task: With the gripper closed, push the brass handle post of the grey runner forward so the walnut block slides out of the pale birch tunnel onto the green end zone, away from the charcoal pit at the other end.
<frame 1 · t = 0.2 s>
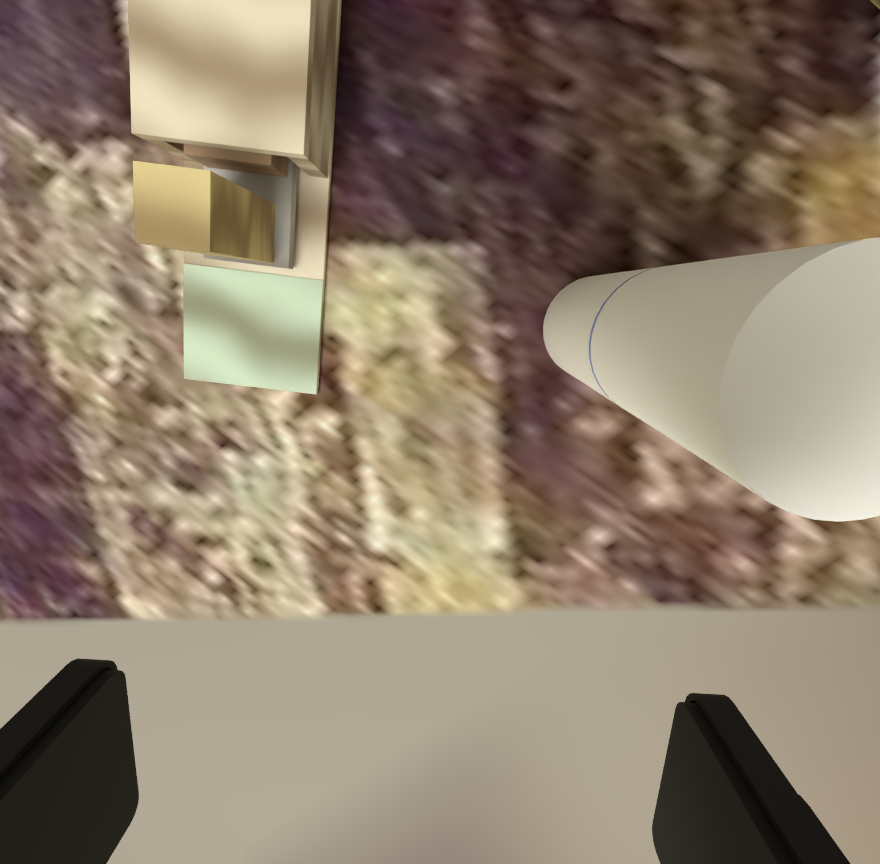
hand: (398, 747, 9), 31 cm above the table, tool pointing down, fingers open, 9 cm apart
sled: (220, 99, 28), point 6 cm above the table, slide at 0.0 cm
tunnel: (259, 146, 35), on the table
cylindrical container: (592, 328, 37), on the table
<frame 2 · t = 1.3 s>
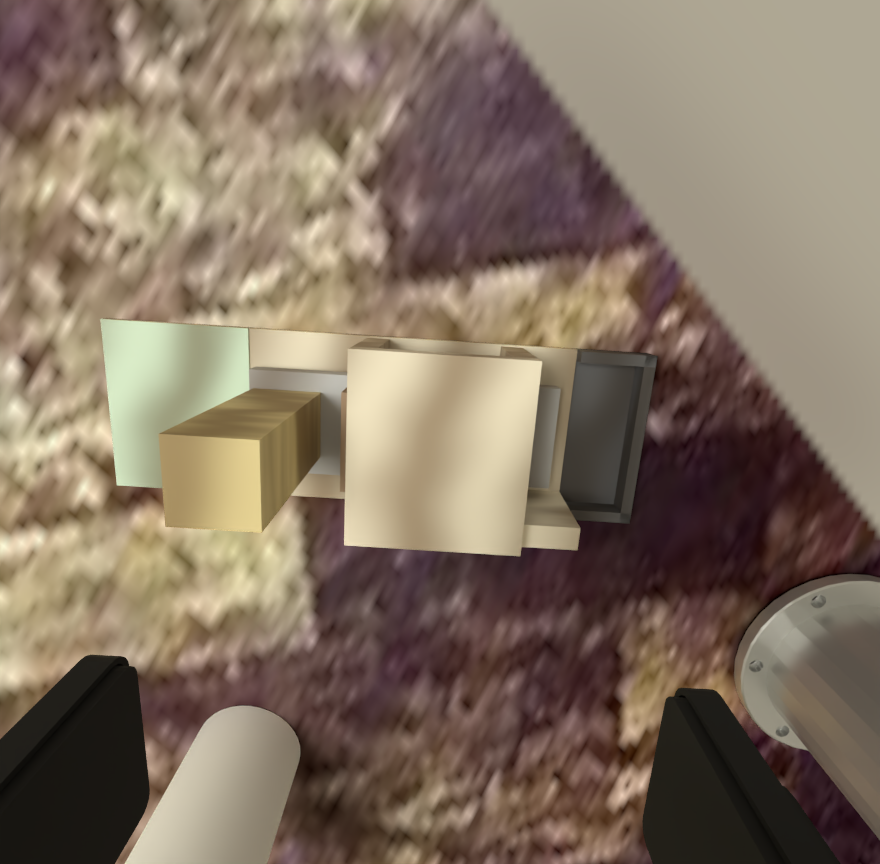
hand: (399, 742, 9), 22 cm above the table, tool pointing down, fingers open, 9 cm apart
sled: (395, 453, 24), point 6 cm above the table, slide at 0.0 cm
tunnel: (392, 420, 30), on the table
cylindrical container: (250, 746, 37), on the table
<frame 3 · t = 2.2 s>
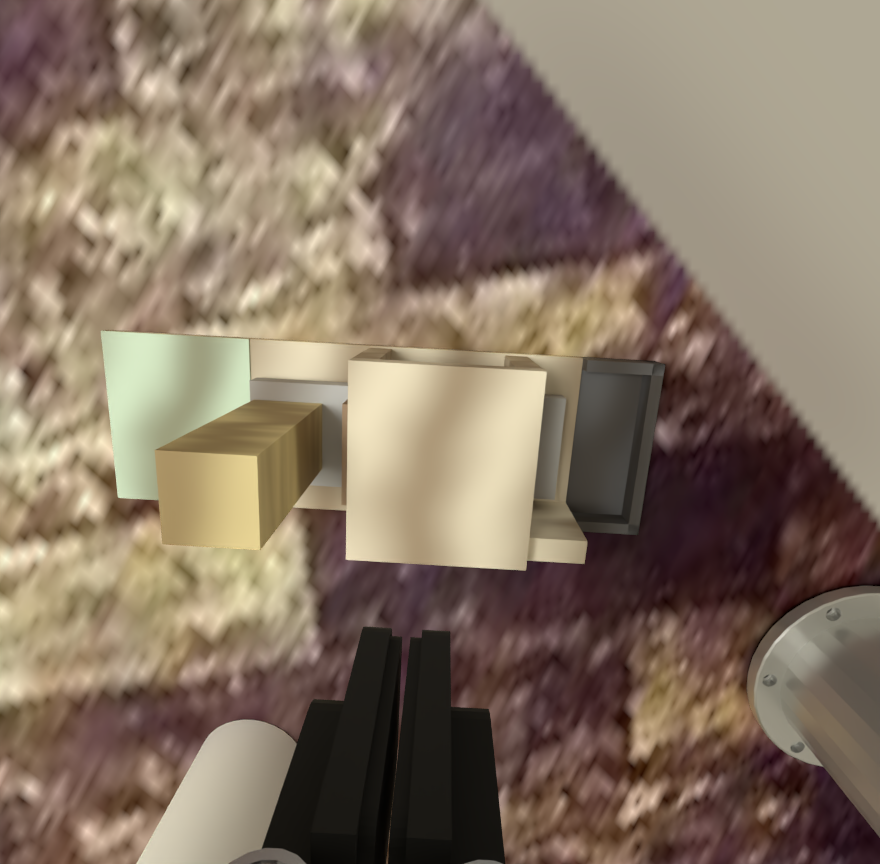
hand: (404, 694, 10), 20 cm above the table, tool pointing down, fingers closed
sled: (397, 465, 24), point 6 cm above the table, slide at 0.0 cm
tunnel: (395, 431, 30), on the table
cylindrical container: (253, 760, 36), on the table
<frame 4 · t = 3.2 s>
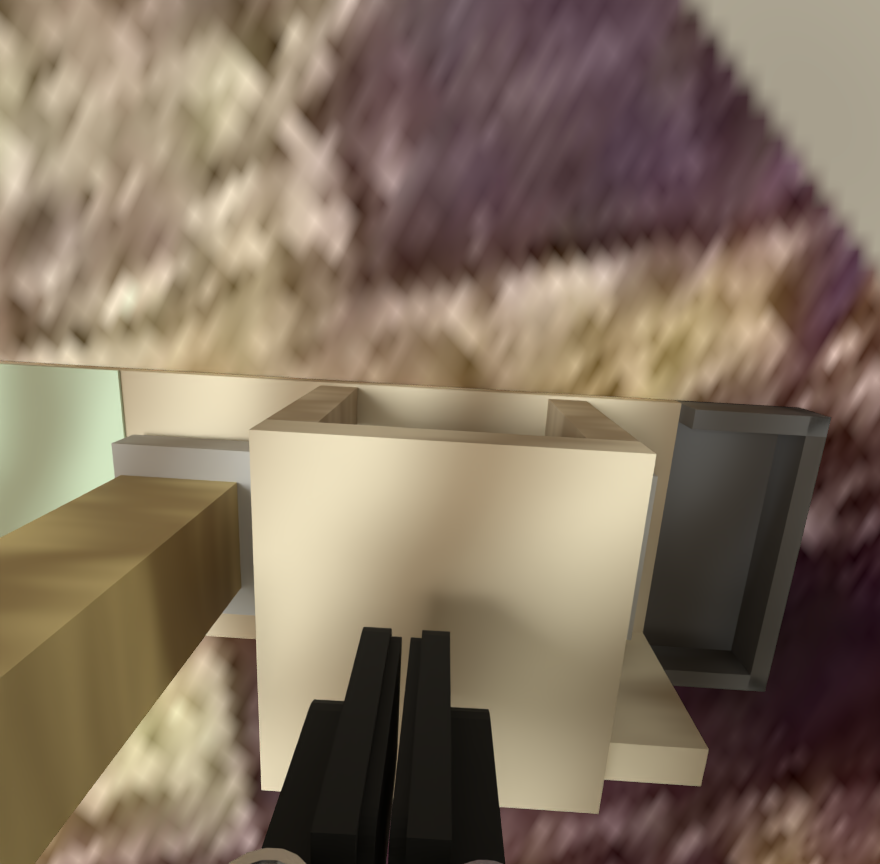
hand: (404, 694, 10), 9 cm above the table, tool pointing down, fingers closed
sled: (355, 625, 12), point 6 cm above the table, slide at 0.0 cm
tunnel: (366, 518, 18), on the table
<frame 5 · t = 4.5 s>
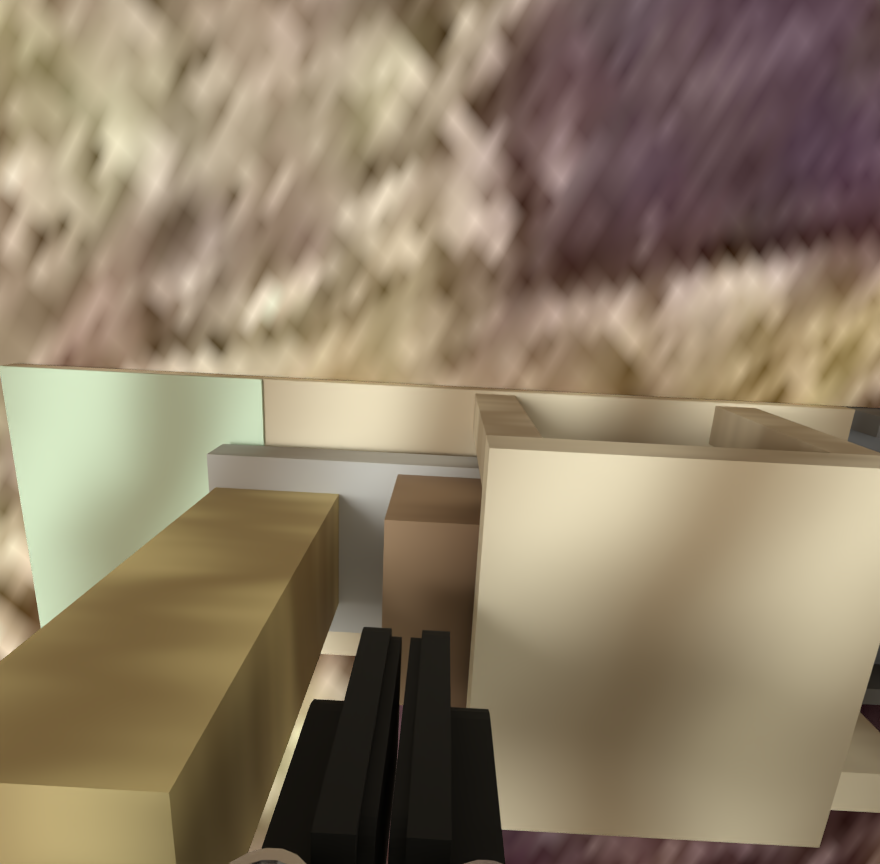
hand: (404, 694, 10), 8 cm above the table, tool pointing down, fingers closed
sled: (500, 649, 12), point 6 cm above the table, slide at 1.7 cm, touching gripper
tunnel: (510, 531, 18), on the table
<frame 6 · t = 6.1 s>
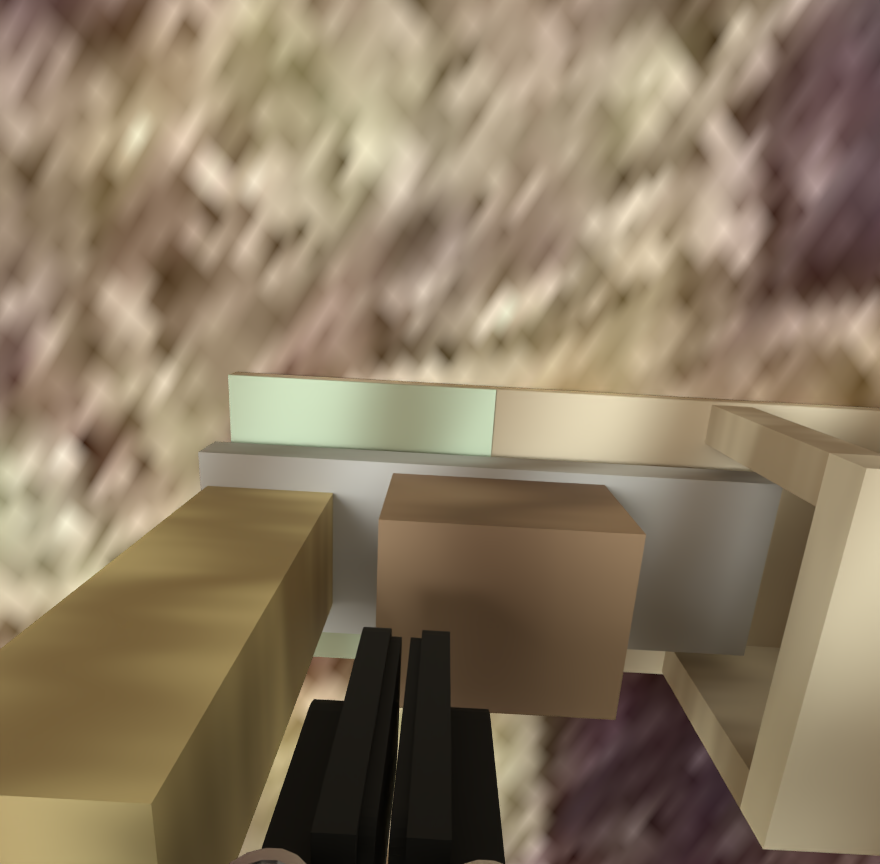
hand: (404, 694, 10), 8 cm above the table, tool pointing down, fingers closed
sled: (496, 652, 11), point 6 cm above the table, slide at 8.9 cm, touching gripper
tunnel: (723, 543, 17), on the table
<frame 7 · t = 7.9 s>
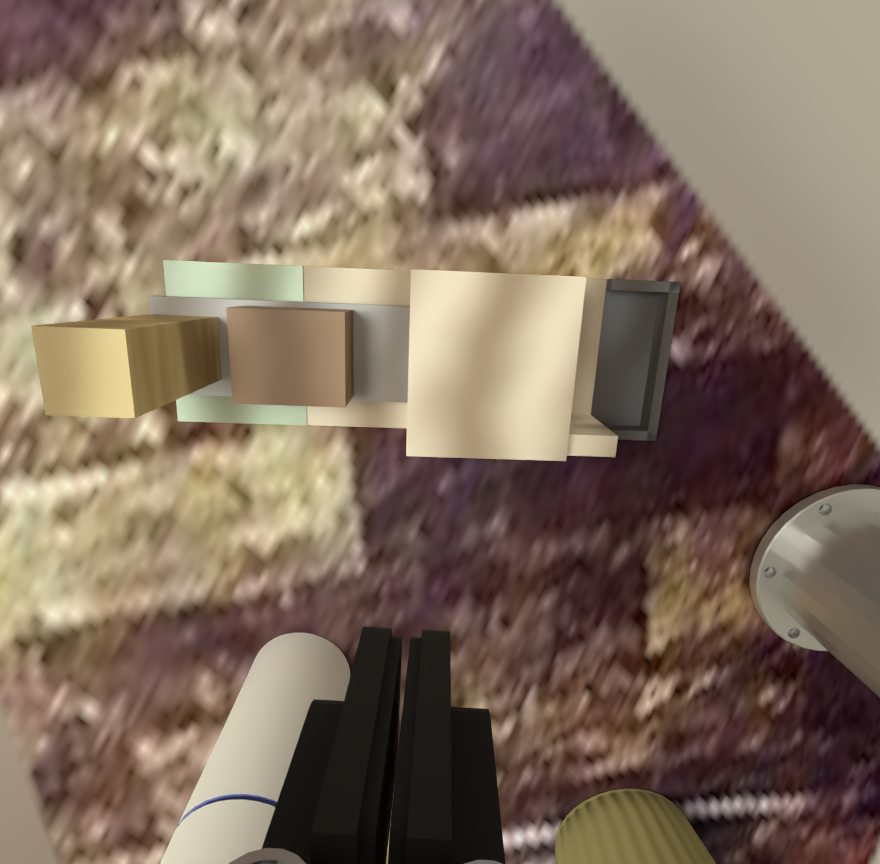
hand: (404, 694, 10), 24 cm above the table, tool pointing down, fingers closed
potted cactus: (619, 838, 44), on the table
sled: (277, 361, 26), point 6 cm above the table, slide at 8.9 cm
tunnel: (436, 352, 33), on the table
cylindrical container: (302, 672, 39), on the table
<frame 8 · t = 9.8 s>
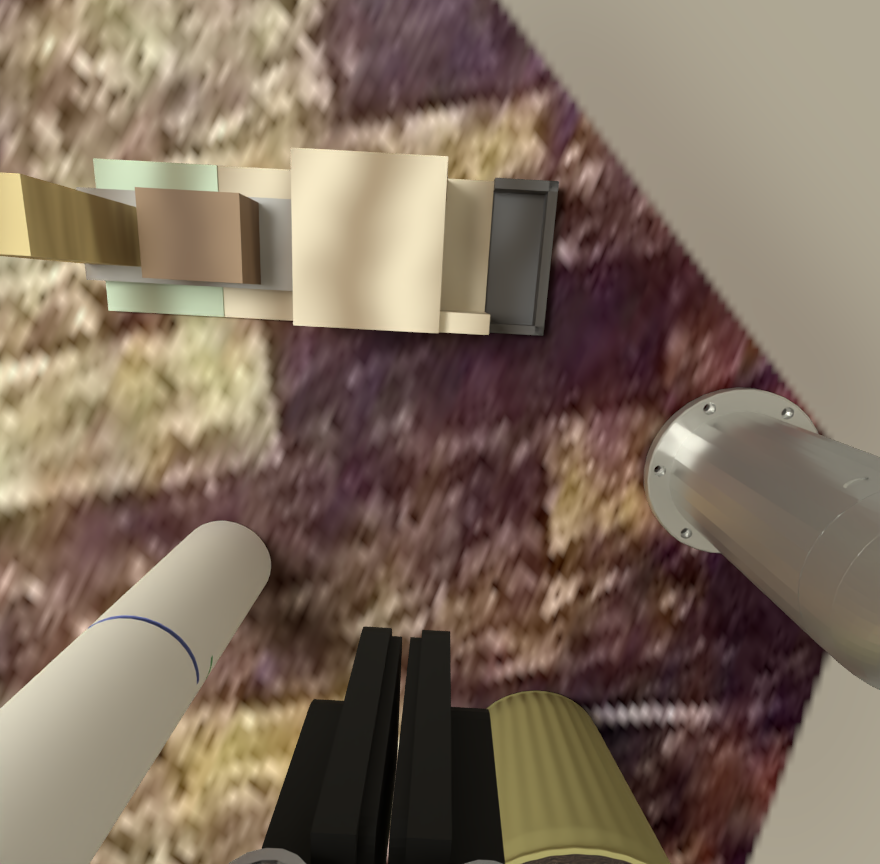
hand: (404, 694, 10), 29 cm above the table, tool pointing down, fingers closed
potted cactus: (532, 742, 46), on the table
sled: (176, 233, 30), point 6 cm above the table, slide at 8.9 cm
tunnel: (341, 251, 36), on the table
cylindrical container: (227, 561, 42), on the table
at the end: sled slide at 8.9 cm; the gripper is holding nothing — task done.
